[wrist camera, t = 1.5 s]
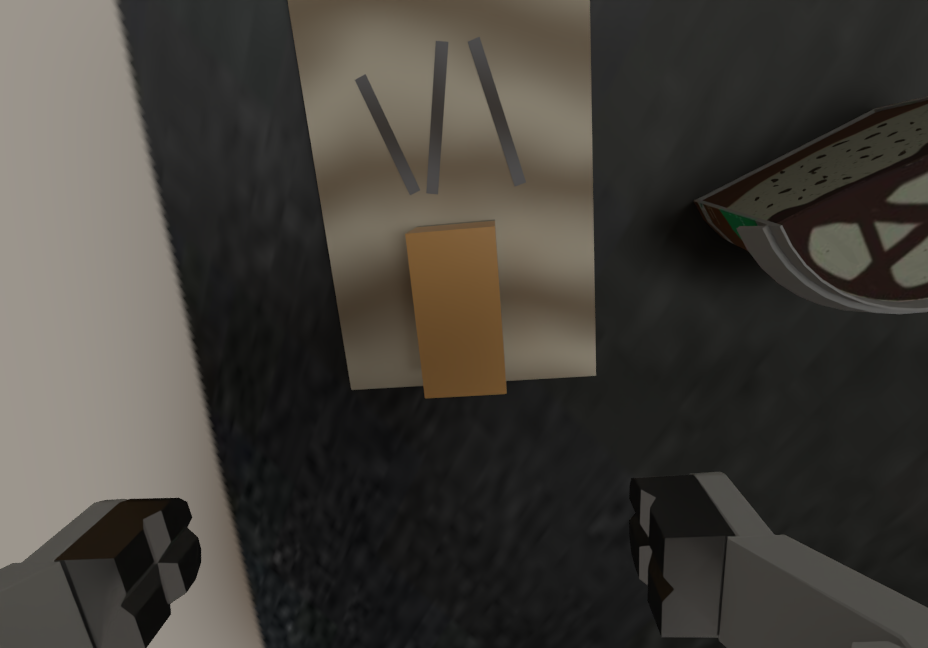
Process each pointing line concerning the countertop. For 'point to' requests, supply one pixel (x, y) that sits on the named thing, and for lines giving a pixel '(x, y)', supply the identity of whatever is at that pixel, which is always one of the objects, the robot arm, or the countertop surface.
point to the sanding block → (457, 308)
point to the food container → (840, 213)
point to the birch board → (454, 166)
